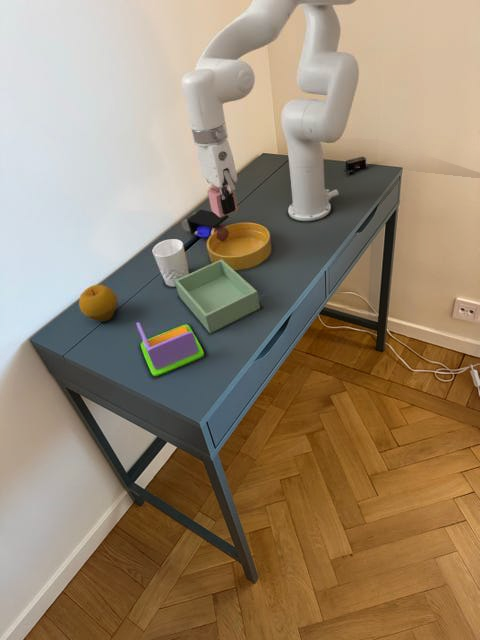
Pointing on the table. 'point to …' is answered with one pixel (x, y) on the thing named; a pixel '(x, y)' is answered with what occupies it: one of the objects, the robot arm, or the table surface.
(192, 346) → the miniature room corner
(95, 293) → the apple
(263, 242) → the bowl
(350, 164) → the wireless earbuds
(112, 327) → the table surface
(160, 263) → the white cup
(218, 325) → the tub
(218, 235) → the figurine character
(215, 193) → the toy bear
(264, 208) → the table surface
